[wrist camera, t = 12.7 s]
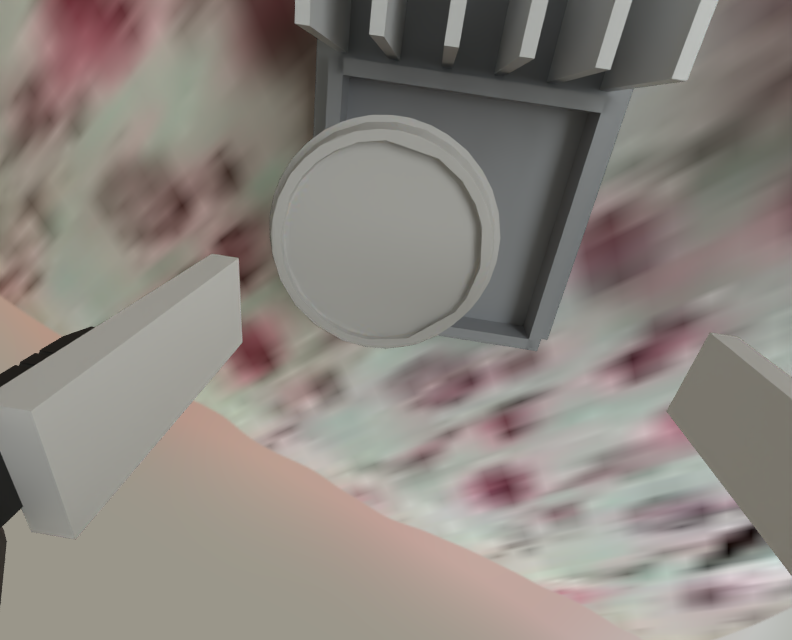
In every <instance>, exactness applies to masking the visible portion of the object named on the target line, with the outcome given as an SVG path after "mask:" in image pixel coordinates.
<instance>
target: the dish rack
mask: <svg viewBox="0 0 792 640" xmlns="http://www.w3.org/2000/svg"><path fill="white" fill-rule="evenodd" d="M717 3H718V0H295V24H296V25H298V26H299V27H301V28H302V29H304V30H305V31H307V32H308V33H310V34H312V35H313V36H315V37H316V38H317V58H316V83H315V109H314V134H313V138H314V137H316V136H317V135H318V134H320V133H321V132H322V131H324V130H325V129H327V128H330V127H332V126H334V125H336V124H338V123H340V122H343V121H346V120H349V119H352V118H357V117H362V116H368V115H396V116H402V117H409V118H412V119H415V120H418V121H421V122H424V123H426V124H429V125H432V126H434V127H435V128H437V129H439V130H441V131H442V132H444V133H446V134H448V135H449V136H450V137H452V138H453V139H454V140H455V141H456V142H458V143H459V144H460V145H461V146H462V147H464V148H465V149H466V150H467V151H468V152H469V153H470V155H471V156H472V157H473V159H474V160H475V161H476V162H477V164H478V165H479V166H480V168H481V169H482V170H483V172H484V174H485V176H486V178H487V180H488V182H489V184H490V186H491V188H492V190H493V194H494V197H495V201H496V204H497V208H498V211H499V223H500V244H499V251H498V257H497V262H496V265H495V268H494V270H493V273H492V276H491V279H490V282H489V283H488V285H487V286H486V288H485V290H484V291H483V293H482V295H481V296H480V298H479V299H478V301H477V302H476V303H475V304H474V305H473V307H472V308H471V309H470V310H469V311H468V312H467V313H466V314H465V315H464V316H463V317H462V318H461V319H459V320H458V321H457V322H456V323H455V324H454V325H452V326H451V327H449V328H448V329H446V330H445V331H443V332H442V333H440V334H438V335H439V336H446V337H452V338H458V339H464V340H471V341H477V342H483V343H489V344H496V345H502V346H508V347H515V348H521V349H527V350H533V351H537V350H538V347H539V344H540V341H541V339H545V340H547V339H548V336H549V334H550V331H551V328H552V325H553V322H554V319H555V316H556V313H557V310H558V307H559V304H560V302H561V299H562V296H563V293H564V290H565V287H566V284H567V281H568V278H569V275H570V272H571V269H572V267H573V264H574V261H575V258H576V255H577V252H578V249H579V246H580V243H581V240H582V237H583V234H584V232H585V229H586V226H587V223H588V220H589V217H590V214H591V211H592V208H593V205H594V202H595V200H596V197H597V194H598V191H599V188H600V185H601V182H602V179H603V176H604V173H605V170H606V167H607V165H608V162H609V159H610V156H611V153H612V150H613V147H614V144H615V141H616V138H617V135H618V132H619V130H620V127H621V124H622V121H623V118H624V115H625V112H626V109H627V106H628V103H629V100H630V98H631V95H632V92H633V89H634V88H640V87H647V86H654V85H661V84H668V83H676V82H683V81H687V79H688V77H689V74H690V72H691V69H692V67H693V64H694V62H695V59H696V56H697V54H698V51H699V49H700V46H701V44H702V41H703V39H704V36H705V33H706V31H707V28H708V26H709V23H710V21H711V18H712V16H713V13H714V10H715V8H716V5H717Z"/></svg>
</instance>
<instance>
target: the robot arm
mask: <svg viewBox="0 0 792 640" xmlns="http://www.w3.org/2000/svg"><path fill="white" fill-rule="evenodd" d="M241 343H242V323H241V300H240V278H239V258H235V257H229V256H223V255H216V254H211V255H209V256H207V257H206V258H204V259H203V260H201V261H200V262H198V263H196V264H195V265H193V266H192V267H190V268H188V269H187V270H185V271H184V272H182V273H181V274H179V275H177V276H176V277H174V278H173V279H171V280H169V281H168V282H166V283H165V284H163V285H162V286H160V287H158V288H157V289H155V290H154V291H152V292H150V293H149V294H147V295H146V296H144V297H142V298H141V299H139V300H138V301H136V302H135V303H133V304H131V305H130V306H128V307H127V308H125V309H123V310H122V311H120V312H119V313H117V314H116V315H114V316H112V317H111V318H109V319H108V320H106V321H104V322H103V323H101V324H100V325H98V326H97V327H89V328H86V329H83V330H80V331H77V332H74V333H71V334H69V335H66V336H63V337H61V338H59V339H58V340H56V341H55V342H53V343H51V344H49V345H48V346H46V347H44V348H43V349H41V350H40V352H39V354H37V353H34V354H33V355H31V356H30V357H28V358H26V359H25V360H23V361H21V362H20V365H19V366H17V365H15V366H13V367H11V368H10V369H8V370H6V371H5V372H3V373H1V374H0V603H1V593H2V583H3V573H4V563H5V552H6V542H7V541H6V537H5V534H4V530H3V528H2V526H3V525H4V524H5V523H6V522H7V521H8V520H9V519H10V518H11V517H13V515H15V514H16V513H17V512H18V510H20V509H22V511H23V513H24V516H25V518H26V521H27V523H28V525H29V528H30V530H31V532H35V533H40V534H46V535H52V536H58V537H63V538H69V539H77V537H78V536H79V535H80V534H81V533H82V532H83V530H84V529H85V528H86V527H87V525H88V524H89V523H90V522H91V521H92V520H93V519H94V517H95V516H96V515H97V514H98V513H99V511H100V510H101V509H102V508H103V507H104V506H105V504H106V503H107V502H108V501H109V500H110V498H111V497H112V496H113V495H114V494H115V493H116V491H117V490H118V489H119V488H120V487H121V485H122V484H123V483H124V482H125V481H126V480H127V478H128V477H129V476H130V475H131V474H132V472H133V471H134V470H135V469H136V468H137V467H138V465H139V464H140V463H141V462H142V461H143V459H144V458H145V457H146V456H147V455H148V453H149V452H150V451H151V450H152V449H153V448H154V446H155V445H156V444H157V443H158V441H159V440H160V439H161V438H162V437H163V436H164V435H165V433H166V432H167V431H168V430H169V429H170V427H171V426H172V425H173V424H174V423H175V422H176V420H177V419H178V418H179V417H180V416H181V414H182V413H183V412H184V411H185V410H186V409H187V407H188V406H189V405H190V404H191V403H192V401H193V400H194V399H195V398H196V397H197V396H198V394H199V393H200V392H201V391H202V390H203V388H204V387H205V386H206V385H207V384H208V383H209V381H210V380H211V379H212V378H213V377H214V375H215V374H216V373H217V372H218V371H219V370H220V368H221V367H222V366H223V365H224V364H225V362H226V361H227V360H228V359H229V358H230V357H231V355H232V354H233V353H234V352H235V351H236V349H237V348H238V347H239V346H240V345H241ZM667 413H668V414H669V415H670V417H671V418H672V419H673V420H674V422H675V423H676V424H677V426H678V427H679V428H680V430H681V431H682V432H683V434H684V435H685V436H686V438H687V439H688V440H689V441H690V443H691V444H692V445H693V447H694V448H695V449H696V451H697V452H698V453H699V455H700V456H701V457H702V459H703V460H704V461H705V462H706V464H707V465H708V466H709V468H710V469H711V470H712V472H713V473H714V474H715V476H716V477H717V478H718V480H719V481H720V482H721V483H722V485H723V486H724V487H725V489H726V490H727V491H728V493H729V494H730V495H731V497H732V498H733V499H734V501H735V502H736V503H737V505H738V506H739V507H740V508H741V510H742V511H743V512H744V514H745V515H746V516H747V518H748V519H749V520H750V522H751V523H752V524H753V526H754V527H755V528H756V529H757V531H758V532H759V533H760V535H761V536H762V537H763V539H764V540H765V541H766V543H767V544H768V545H769V547H770V548H771V549H772V550H773V552H774V553H775V554H776V556H777V557H778V558H779V560H780V561H781V562H782V564H783V565H784V566H785V568H786V569H787V570H788V571H789V573H790V574H791V575H792V377H791V376H789V375H788V374H787V373H785V372H784V371H783V370H781V369H780V368H779V367H777V366H776V365H775V364H773V363H772V362H771V361H769V360H768V359H767V358H765V357H764V356H763V355H761V354H760V353H759V352H757V351H756V350H755V349H753V348H752V347H751V346H749V345H748V344H747V343H745V342H744V341H743V340H741V339H740V338H739V337H735V336H729V335H722V334H716V333H709V335H708V337H707V339H706V341H705V343H704V344H703V346H702V348H701V350H700V352H699V353H698V355H697V357H696V359H695V361H694V362H693V364H692V366H691V368H690V370H689V372H688V373H687V375H686V377H685V379H684V381H683V382H682V384H681V386H680V388H679V390H678V391H677V393H676V395H675V397H674V399H673V401H672V402H671V404H670V406H669V408H668V410H667Z"/></svg>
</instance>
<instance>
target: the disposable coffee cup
mask: <svg viewBox="0 0 792 640" xmlns="http://www.w3.org/2000/svg"><path fill="white" fill-rule="evenodd" d="M270 242H271V247H272V253H273V258H274V261H275V264H276V267H277V270H278V274H279V277H280V280H281V282H282V283H283V285H284V287H285V288H286V290H287V292H288V294H289V295H290V297H291V299H292V300H293V302H294V304H295V305H296V306H297V307H298V308H299V309H300V310H301V311H302V312H303V313H304V314H305V315H306V316H307V317H308V318H309V319H310V320H311V321H312V322H313V323H314V324H315V325H316V326H318V327H320V328H322V329H323V330H325V331H327V332H329V333H330V334H332V335H334V336H336V337H338V338H339V339H341V340H343V341H347V342H350V343H354V344H358V345H361V346H365V347H374V348H394V347H403V346H408V345H414V344H418V343H420V342H423V341H425V340H427V339H430V338H432V337H435V336H437V335H438V334H440V333H442V332H443V331H445V330H446V329H448V328H449V327H451V326H452V325H454V324H455V323H456V322H457V321H458V320H459V319H461V318H462V317H463V316H464V315H465V314H466V313H467V312H468V311H469V310H470V309H471V308H472V307H473V305H474V304H475V303H476V302H477V301H478V299H479V298H480V296H481V295H482V293H483V291H484V290H485V288H486V286H487V285H488V283H489V282H490V279H491V276H492V273H493V270H494V268H495V265H496V262H497V257H498V251H499V244H500V223H499V211H498V208H497V204H496V201H495V197H494V194H493V190H492V188H491V186H490V184H489V182H488V180H487V178H486V176H485V174H484V172H483V170H482V169H481V168H480V166H479V165H478V164H477V162H476V161H475V160H474V159H473V157H472V156H471V155H470V153H469V152H468V151H467V150H466V149H465V148H464V147H462V146H461V145H460V144H459V143H458V142H456V141H455V140H454V139H453V138H452V137H450V136H449V135H448V134H446V133H444V132H442V131H441V130H439V129H437V128H435V127H434V126H432V125H429V124H426V123H424V122H421V121H418V120H415V119H412V118H409V117H402V116H396V115H368V116H362V117H357V118H352V119H349V120H346V121H343V122H340V123H338V124H336V125H334V126H332V127H330V128H327V129H325V130H324V131H322V132H321V133H320V134H318V135H317V136H316V137H314V138H313V139H311V140H310V141H309V142H307V143H306V144H305V145H304V146H303V147H302V149H301V150H300V151H299V152H298V153H297V154H296V155H295V156H294V157H293V158H292V160H291V162H290V163H289V165H288V166H287V168H286V170H285V171H284V173H283V175H282V176H281V178H280V180H279V183H278V185H277V188H276V191H275V193H274V196H273V201H272V207H271V212H270Z"/></svg>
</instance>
